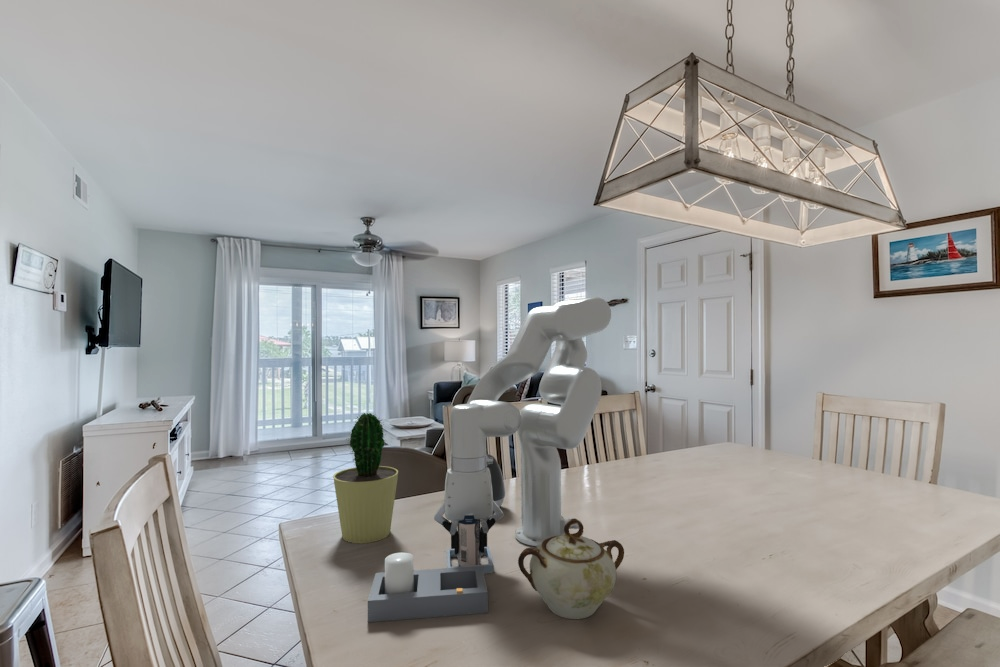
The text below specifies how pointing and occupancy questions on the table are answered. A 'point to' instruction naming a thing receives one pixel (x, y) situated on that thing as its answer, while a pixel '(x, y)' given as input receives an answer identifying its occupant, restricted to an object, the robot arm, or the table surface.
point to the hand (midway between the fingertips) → (469, 550)
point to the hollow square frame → (486, 567)
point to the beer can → (469, 541)
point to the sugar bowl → (572, 572)
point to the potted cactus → (366, 486)
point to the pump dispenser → (496, 482)
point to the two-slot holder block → (425, 591)
